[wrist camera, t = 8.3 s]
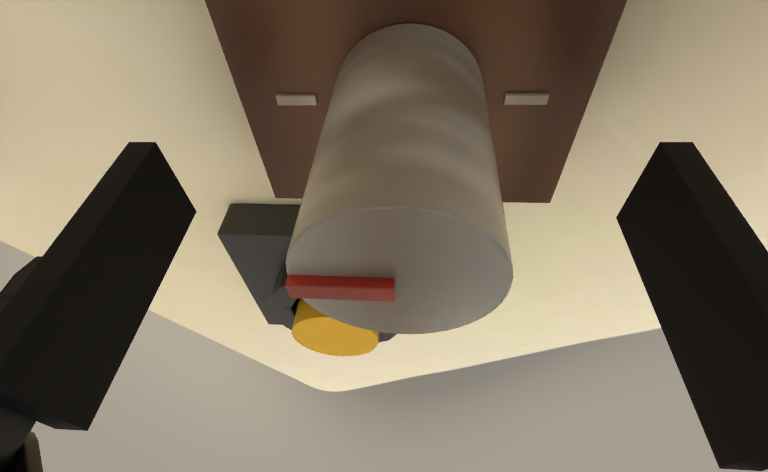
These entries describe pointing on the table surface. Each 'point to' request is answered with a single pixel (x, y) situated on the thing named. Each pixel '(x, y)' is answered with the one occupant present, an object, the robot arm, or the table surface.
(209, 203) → the table surface
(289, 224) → the button housing
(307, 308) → the button
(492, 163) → the dial
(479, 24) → the dial panel
